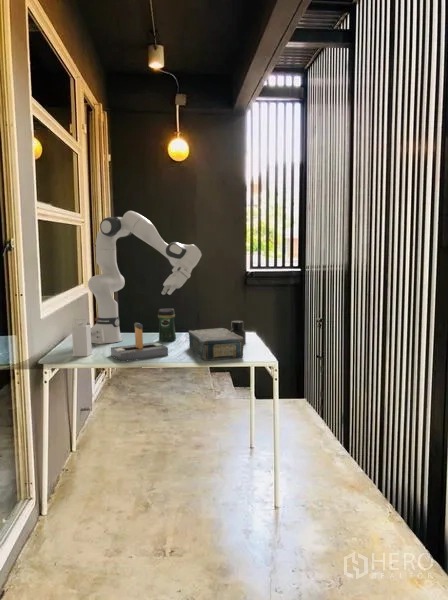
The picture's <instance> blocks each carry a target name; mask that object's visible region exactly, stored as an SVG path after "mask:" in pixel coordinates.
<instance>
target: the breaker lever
mask: <svg viewBox="0 0 448 600" xmlns="http://www.w3.org/2000/svg"><path fill="white" fill-rule="evenodd" d="M133 327H134V337H135V343H134V345H136V347H137V348H139V349H141V348H143V344H144V341H143V339H144V337H143V328H144V326H143V324H142V323H139V322H134V324H133Z"/></svg>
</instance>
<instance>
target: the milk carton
mask: <svg viewBox="0 0 448 600" xmlns="http://www.w3.org/2000/svg"><path fill="white" fill-rule="evenodd" d="M91 328H92V326H91V322H90V321H89V318H88V317H73V322H72V326H71V333H72V350H73V351H72V352H73V353H72V354H73V357H88V356H90V355H91V354H92V353H93V351H92V343H91Z"/></svg>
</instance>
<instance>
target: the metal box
mask: <svg viewBox="0 0 448 600" xmlns="http://www.w3.org/2000/svg"><path fill="white" fill-rule="evenodd" d="M187 332H188V337H189V338H188V342H189V349H190V350H191V351H192V352H193V353H195V354H196V355H197V356H198V357H199V358H200V359H202V360H203V361H204V362H208V361H218V360H217V359H221V360H231V359H239V357H240V358H243V356H244V343H243V341H244V339H243V337H241V336H238V335H237V334H235V333H234V332H230V330H229V329H227V328H223V327H218V328H217V327H216V328H205V329H195V330H188V331H187ZM230 358H231V359H230Z"/></svg>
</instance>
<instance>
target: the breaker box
mask: <svg viewBox="0 0 448 600" xmlns="http://www.w3.org/2000/svg"><path fill="white" fill-rule="evenodd" d="M110 356H111V357H112V358H114V357H115V358H114V359H116V358H117V359H116V360H117V361H119V360H120V361H119V362H121V361H125V362H128V361H127V360H132V361H137V360H136V359H139V360H144V359H151V358H152V359H153V358H158V357H167V356H169V347H168V346H165V345H164V344H162V343H160V342H156V341H155V342H147V343H146V342H145V343H144V342H143V348H141V349H139V348H137V347H136V345H135V344H129V345H122V346H114V347H110Z"/></svg>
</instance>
